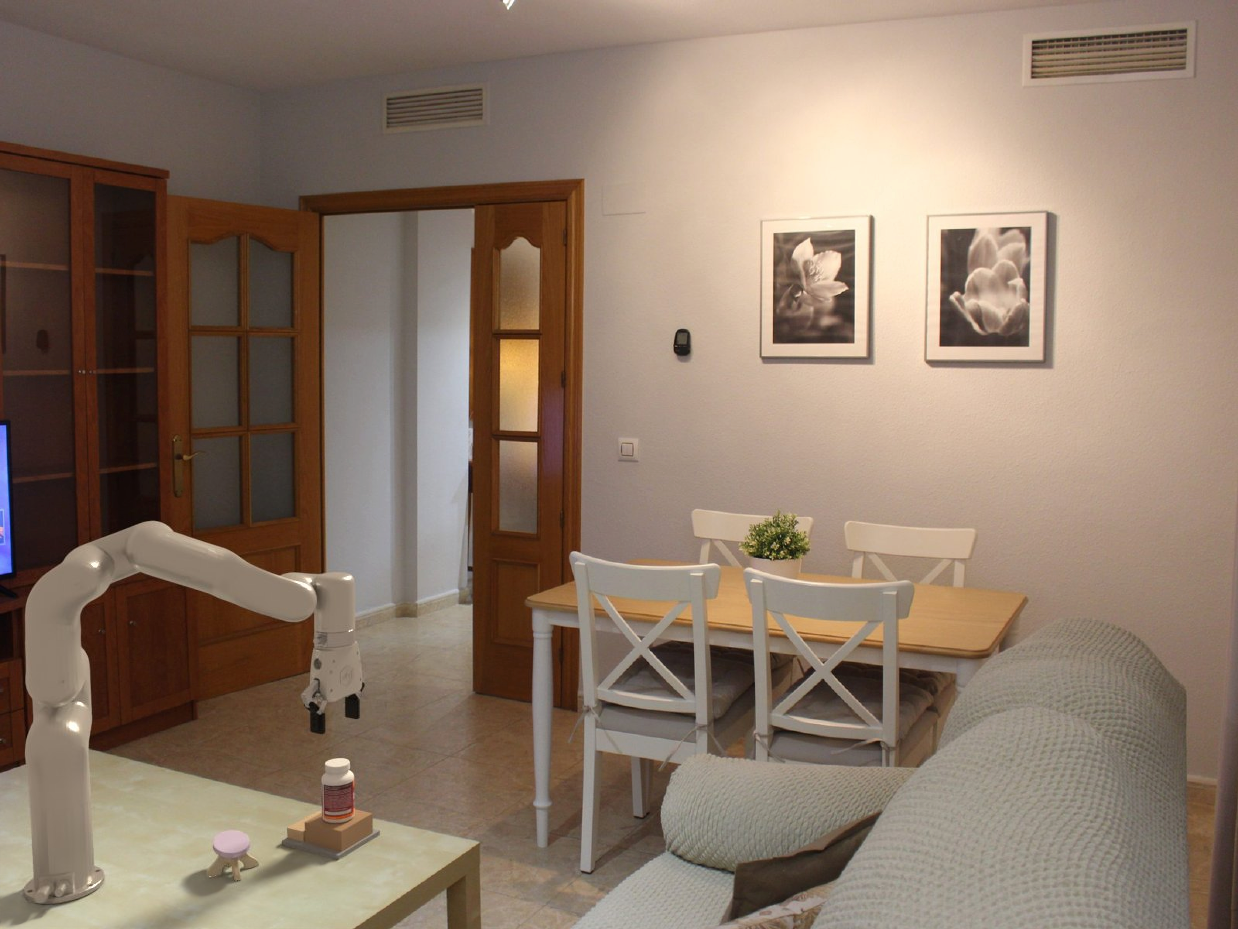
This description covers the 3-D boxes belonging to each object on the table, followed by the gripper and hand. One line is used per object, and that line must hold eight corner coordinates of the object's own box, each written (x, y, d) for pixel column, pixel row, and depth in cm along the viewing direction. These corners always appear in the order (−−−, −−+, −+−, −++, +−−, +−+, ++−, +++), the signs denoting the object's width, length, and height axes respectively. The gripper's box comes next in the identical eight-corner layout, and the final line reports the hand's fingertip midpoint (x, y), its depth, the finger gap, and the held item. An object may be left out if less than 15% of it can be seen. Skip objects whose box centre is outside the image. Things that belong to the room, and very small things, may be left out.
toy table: (206, 863, 197) (205, 833, 196) (258, 855, 200) (257, 826, 199) (205, 887, 187) (204, 856, 187) (259, 879, 190) (258, 848, 190)
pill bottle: (361, 818, 205) (360, 762, 204) (332, 827, 200) (331, 771, 199) (344, 808, 209) (343, 754, 208) (316, 817, 205) (314, 762, 204)
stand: (379, 834, 208) (379, 811, 208) (338, 860, 198) (338, 835, 197) (324, 821, 215) (324, 798, 214) (281, 844, 204) (281, 820, 203)
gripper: (318, 650, 192) (319, 742, 194) (379, 630, 208) (380, 715, 209) (287, 645, 195) (288, 735, 197) (349, 626, 211) (350, 709, 212)
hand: (335, 725), depth 203 cm, fingers open, 9 cm apart
